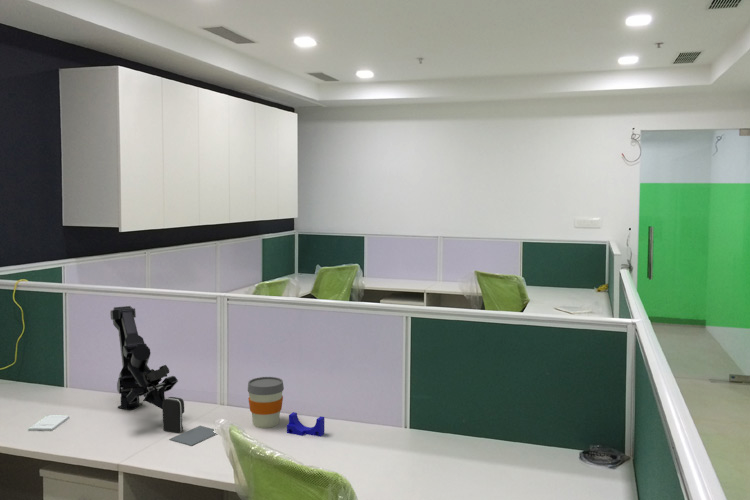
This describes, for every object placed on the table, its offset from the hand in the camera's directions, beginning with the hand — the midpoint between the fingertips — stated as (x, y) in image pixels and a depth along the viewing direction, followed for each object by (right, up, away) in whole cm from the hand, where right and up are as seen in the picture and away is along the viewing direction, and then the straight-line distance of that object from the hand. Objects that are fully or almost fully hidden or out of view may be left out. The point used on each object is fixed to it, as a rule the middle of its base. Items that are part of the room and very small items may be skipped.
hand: (165, 409), depth 227 cm
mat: (+12, -8, -6) cm, 16 cm away
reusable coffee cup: (+34, -7, +6) cm, 35 cm away
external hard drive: (-42, -7, +3) cm, 42 cm away
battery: (+3, -7, -1) cm, 8 cm away
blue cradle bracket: (+49, -8, -3) cm, 49 cm away
